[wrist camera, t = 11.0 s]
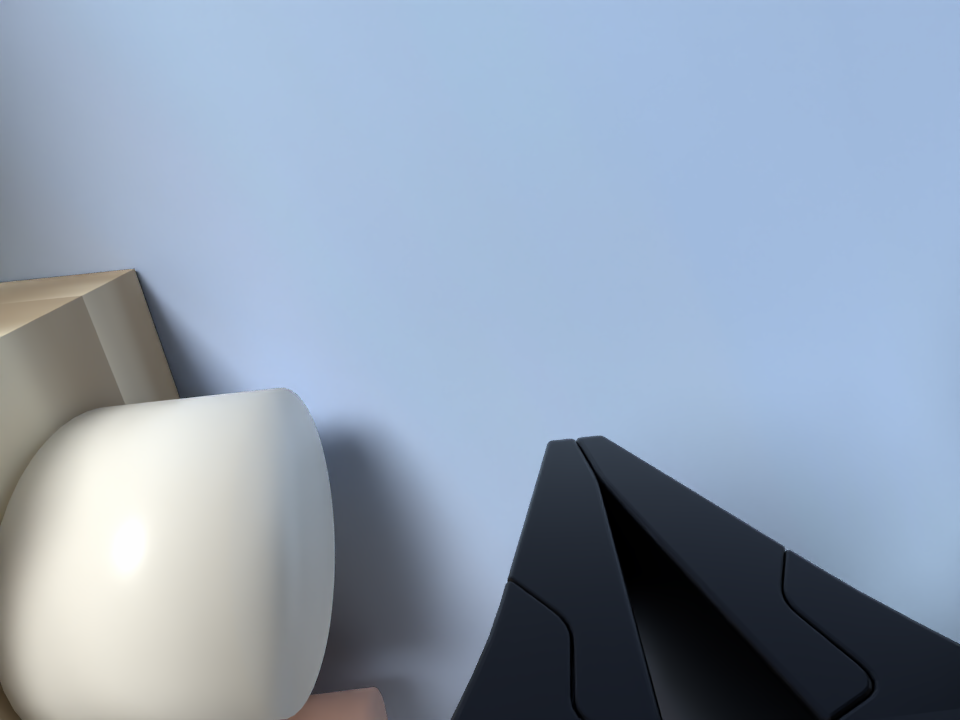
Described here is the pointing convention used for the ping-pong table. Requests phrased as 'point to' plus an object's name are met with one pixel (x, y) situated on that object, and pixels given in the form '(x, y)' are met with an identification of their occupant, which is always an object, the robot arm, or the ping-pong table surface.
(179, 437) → the knob
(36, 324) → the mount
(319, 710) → the knob
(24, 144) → the ping-pong table surface
